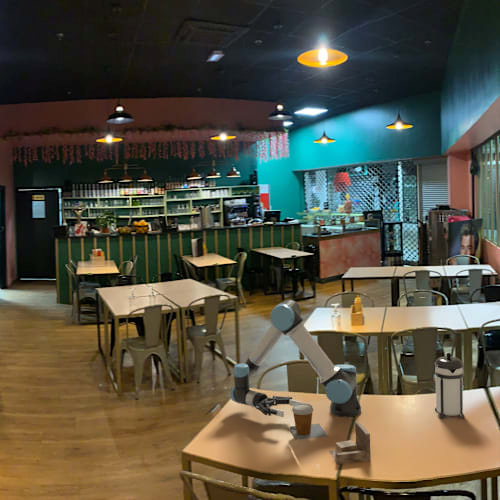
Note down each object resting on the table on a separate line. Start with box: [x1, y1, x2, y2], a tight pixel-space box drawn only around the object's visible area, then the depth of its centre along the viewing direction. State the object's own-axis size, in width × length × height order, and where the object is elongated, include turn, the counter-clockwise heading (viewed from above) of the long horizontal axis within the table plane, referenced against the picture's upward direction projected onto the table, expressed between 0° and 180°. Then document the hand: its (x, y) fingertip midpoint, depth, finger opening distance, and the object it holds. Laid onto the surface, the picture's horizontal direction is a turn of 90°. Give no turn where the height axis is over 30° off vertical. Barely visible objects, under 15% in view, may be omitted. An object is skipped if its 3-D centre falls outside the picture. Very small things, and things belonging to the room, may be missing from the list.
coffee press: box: [434, 352, 465, 420], centre depth 262 cm, size 17×16×30 cm
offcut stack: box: [334, 439, 358, 453], centre depth 222 cm, size 8×6×5 cm
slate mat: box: [289, 423, 328, 440], centre depth 249 cm, size 14×14×1 cm
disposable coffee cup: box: [291, 402, 314, 435], centre depth 247 cm, size 10×10×12 cm
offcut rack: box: [328, 421, 372, 465], centre depth 222 cm, size 14×13×12 cm
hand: (292, 409), depth 254 cm, fingers open, 13 cm apart
